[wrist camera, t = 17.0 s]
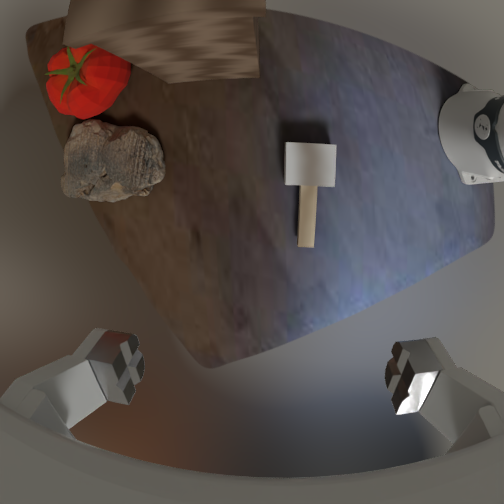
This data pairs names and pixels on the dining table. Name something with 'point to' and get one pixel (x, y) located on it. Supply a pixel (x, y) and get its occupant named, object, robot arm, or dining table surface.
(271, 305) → the dining table surface
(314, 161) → the mallet
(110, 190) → the clay tablet
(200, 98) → the dining table surface
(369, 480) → the robot arm
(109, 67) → the tomato
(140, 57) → the walnut stand
